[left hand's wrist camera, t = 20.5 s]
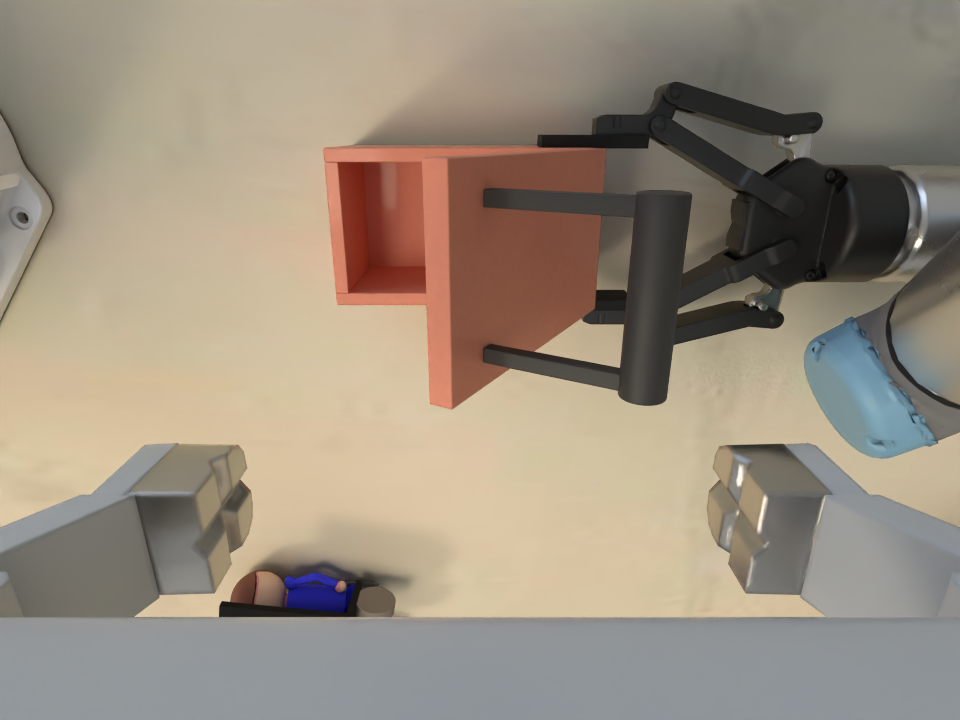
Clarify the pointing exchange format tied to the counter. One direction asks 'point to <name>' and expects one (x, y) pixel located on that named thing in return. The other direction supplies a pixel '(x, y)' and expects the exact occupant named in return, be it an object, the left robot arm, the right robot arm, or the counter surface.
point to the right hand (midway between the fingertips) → (536, 224)
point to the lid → (542, 270)
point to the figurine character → (306, 597)
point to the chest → (384, 218)
